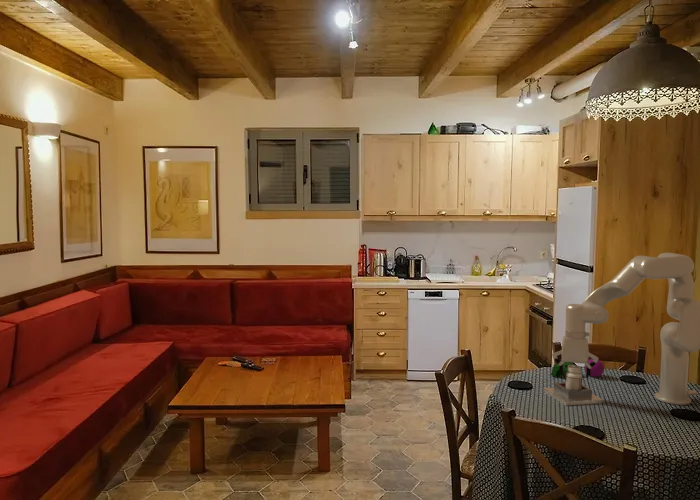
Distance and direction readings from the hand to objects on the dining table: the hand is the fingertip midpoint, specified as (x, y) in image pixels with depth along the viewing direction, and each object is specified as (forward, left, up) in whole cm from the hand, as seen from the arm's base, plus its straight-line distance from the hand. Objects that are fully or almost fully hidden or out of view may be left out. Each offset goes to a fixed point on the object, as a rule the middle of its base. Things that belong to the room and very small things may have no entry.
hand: (574, 375), depth 215 cm
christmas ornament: (-25, -23, -9) cm, 36 cm away
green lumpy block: (-12, -26, -9) cm, 30 cm away
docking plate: (+1, 0, -9) cm, 9 cm away
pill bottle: (0, 0, -8) cm, 8 cm away
